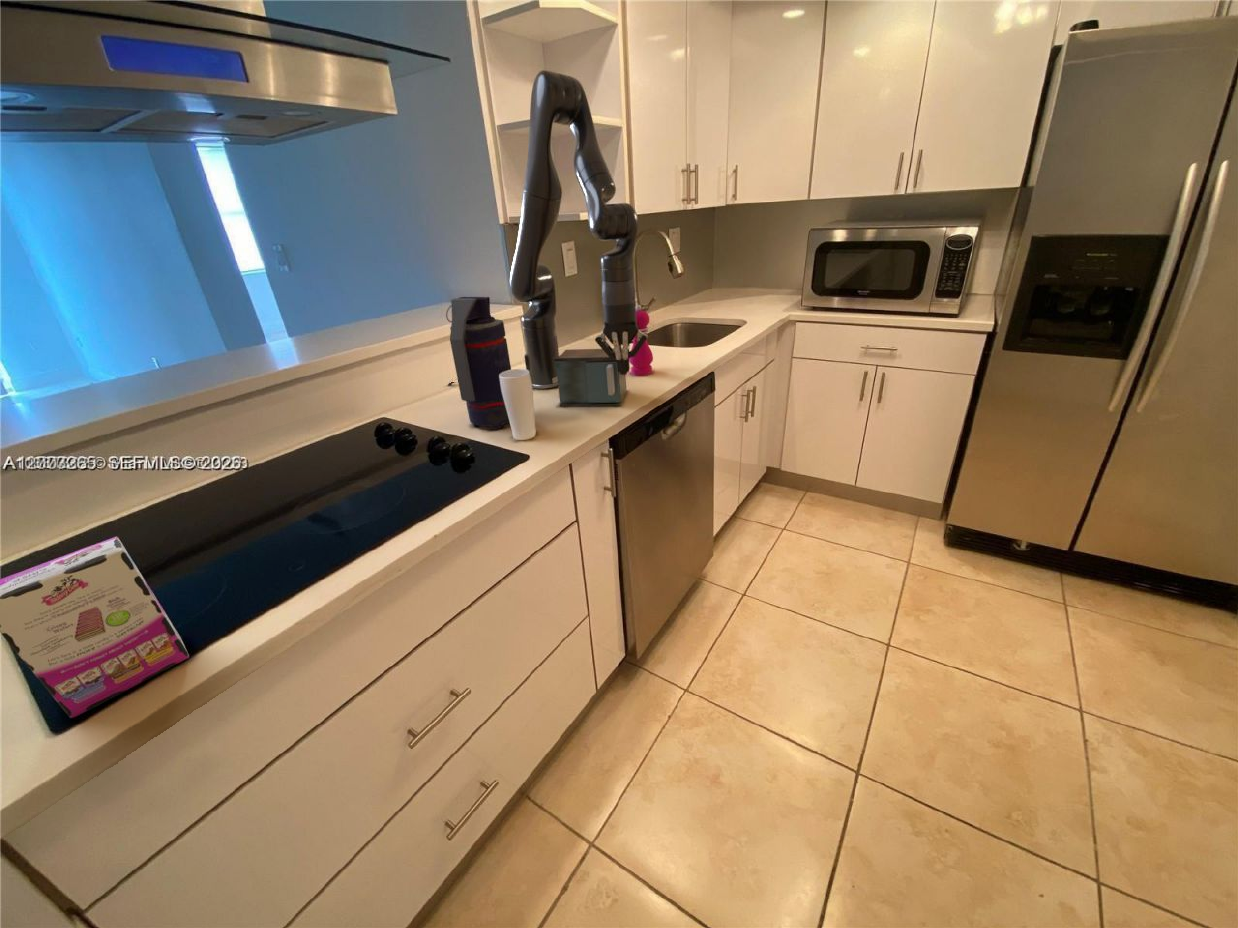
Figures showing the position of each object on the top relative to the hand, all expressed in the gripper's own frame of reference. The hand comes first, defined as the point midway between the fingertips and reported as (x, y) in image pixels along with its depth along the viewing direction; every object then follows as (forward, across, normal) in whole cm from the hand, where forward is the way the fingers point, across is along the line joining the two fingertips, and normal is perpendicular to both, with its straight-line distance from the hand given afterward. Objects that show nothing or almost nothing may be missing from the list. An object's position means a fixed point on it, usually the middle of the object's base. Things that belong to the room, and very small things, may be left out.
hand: (623, 373), depth 127 cm
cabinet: (+9, +10, -8) cm, 16 cm away
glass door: (+8, +6, -1) cm, 10 cm away
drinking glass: (+9, +21, +17) cm, 29 cm away
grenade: (+9, +32, +9) cm, 35 cm away
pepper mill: (+9, 0, -30) cm, 32 cm away
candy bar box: (+9, +46, +88) cm, 100 cm away
